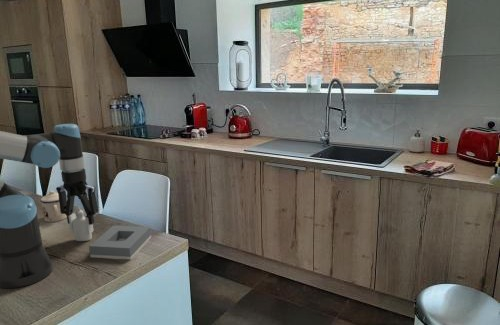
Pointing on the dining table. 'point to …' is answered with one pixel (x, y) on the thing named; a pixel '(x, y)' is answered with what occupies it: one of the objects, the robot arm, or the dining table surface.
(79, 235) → the eye dropper bottle
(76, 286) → the dining table surface
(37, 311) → the dining table surface
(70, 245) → the dining table surface
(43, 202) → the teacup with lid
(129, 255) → the hole block
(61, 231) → the dining table surface
